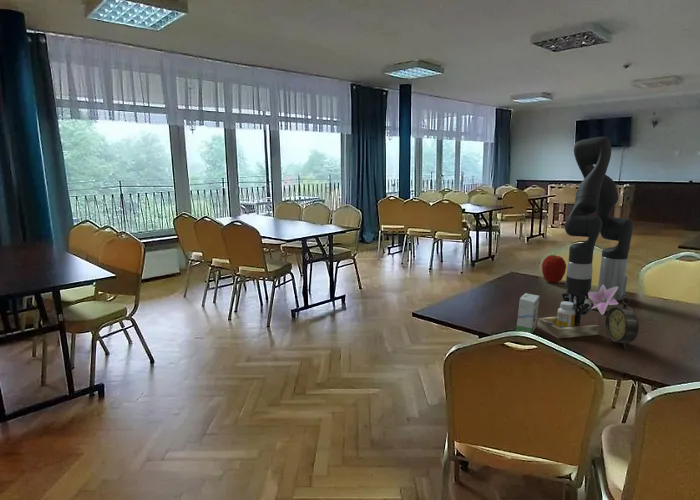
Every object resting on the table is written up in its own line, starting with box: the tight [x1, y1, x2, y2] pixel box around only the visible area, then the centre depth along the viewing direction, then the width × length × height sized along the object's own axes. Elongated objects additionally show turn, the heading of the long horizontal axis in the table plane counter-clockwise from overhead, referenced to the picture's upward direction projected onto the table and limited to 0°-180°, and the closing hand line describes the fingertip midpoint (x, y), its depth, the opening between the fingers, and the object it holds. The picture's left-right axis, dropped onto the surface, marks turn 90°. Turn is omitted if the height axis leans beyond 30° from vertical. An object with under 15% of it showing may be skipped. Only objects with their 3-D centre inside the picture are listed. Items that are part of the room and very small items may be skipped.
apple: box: [541, 254, 567, 284], centre depth 214 cm, size 10×10×14 cm
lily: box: [588, 285, 619, 315], centre depth 176 cm, size 12×12×10 cm
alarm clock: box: [605, 293, 640, 351], centre depth 143 cm, size 11×5×16 cm, turn 0°
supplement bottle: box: [556, 300, 575, 328], centre depth 155 cm, size 5×5×10 cm
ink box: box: [515, 292, 540, 334], centre depth 155 cm, size 9×5×12 cm, turn 148°
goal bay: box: [536, 316, 600, 339], centre depth 156 cm, size 15×11×3 cm
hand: (575, 324), depth 156 cm, fingers closed
